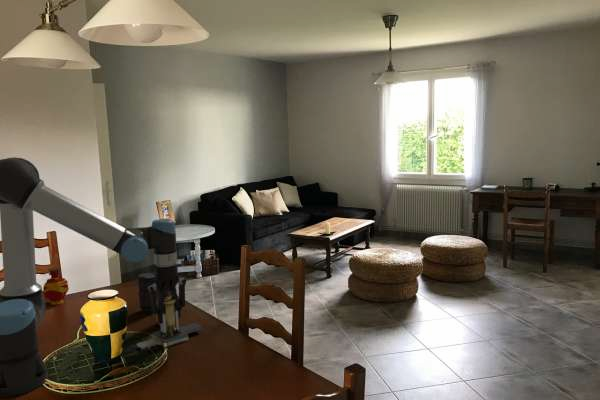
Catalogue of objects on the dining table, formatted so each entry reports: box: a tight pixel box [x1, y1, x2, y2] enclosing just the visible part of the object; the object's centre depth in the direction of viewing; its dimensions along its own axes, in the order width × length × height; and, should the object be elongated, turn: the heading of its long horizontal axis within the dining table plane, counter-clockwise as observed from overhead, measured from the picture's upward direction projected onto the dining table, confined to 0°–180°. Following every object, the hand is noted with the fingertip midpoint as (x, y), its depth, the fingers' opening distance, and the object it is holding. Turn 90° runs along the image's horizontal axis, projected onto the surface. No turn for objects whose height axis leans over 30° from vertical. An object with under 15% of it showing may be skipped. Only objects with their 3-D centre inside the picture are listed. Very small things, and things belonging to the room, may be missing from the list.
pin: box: [163, 297, 176, 338], centre depth 162 cm, size 5×5×13 cm
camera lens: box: [137, 272, 155, 314], centre depth 190 cm, size 8×8×15 cm
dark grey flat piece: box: [136, 322, 203, 350], centre depth 163 cm, size 22×9×2 cm, turn 130°
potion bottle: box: [42, 267, 70, 306], centre depth 202 cm, size 10×10×15 cm
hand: (169, 329), depth 162 cm, fingers closed on pin, 4 cm apart
